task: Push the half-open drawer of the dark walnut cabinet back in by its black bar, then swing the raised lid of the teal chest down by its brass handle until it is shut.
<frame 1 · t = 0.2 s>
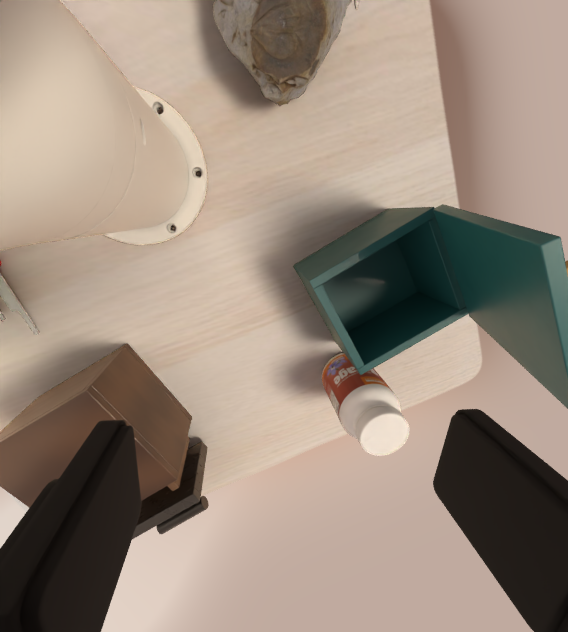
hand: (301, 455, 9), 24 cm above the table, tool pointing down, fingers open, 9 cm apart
stone: (277, 33, 25), on the table
pill bottle: (343, 372, 37), on the table
chest lid: (529, 278, 19), point 15 cm above the table, hinge at 75.0°
chest: (360, 279, 33), on the table
cabinet: (119, 407, 34), on the table
rack drawer: (146, 476, 32), point 5 cm above the table, slide at 3.0 cm
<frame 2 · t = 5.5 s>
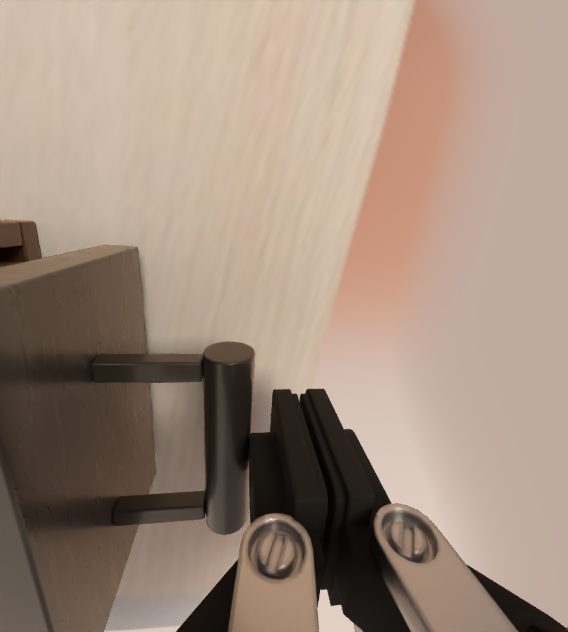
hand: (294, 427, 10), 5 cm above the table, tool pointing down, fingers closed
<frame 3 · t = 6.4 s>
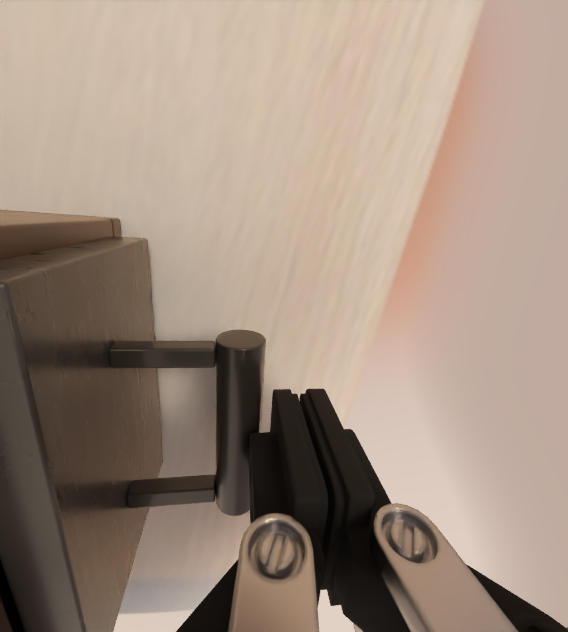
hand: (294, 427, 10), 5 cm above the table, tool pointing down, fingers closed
rack drawer: (10, 424, 9), point 5 cm above the table, slide at 0.0 cm, touching cabinet, gripper
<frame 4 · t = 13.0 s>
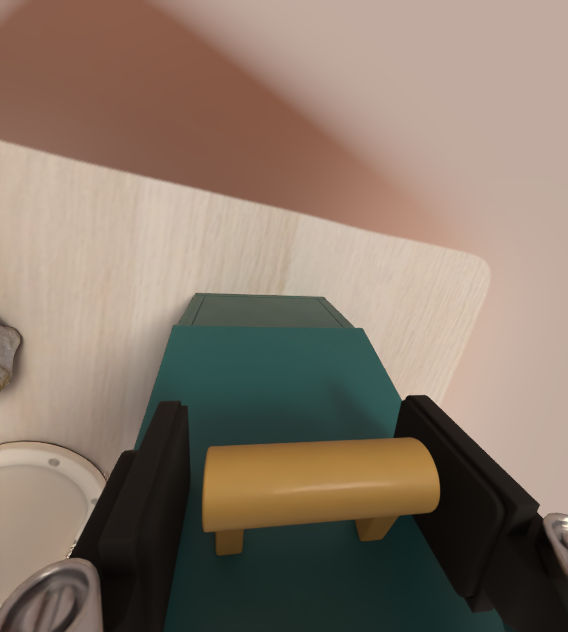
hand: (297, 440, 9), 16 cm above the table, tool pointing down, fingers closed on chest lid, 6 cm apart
chest lid: (290, 395, 11), point 15 cm above the table, hinge at 73.8°, touching gripper
chest: (259, 358, 26), on the table
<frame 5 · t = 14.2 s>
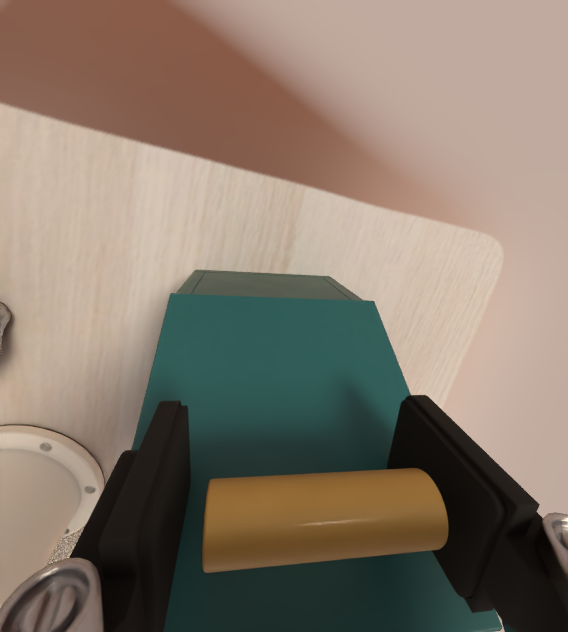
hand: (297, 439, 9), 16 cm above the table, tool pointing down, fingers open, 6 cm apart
chest lid: (294, 392, 10), point 15 cm above the table, hinge at 60.4°, touching gripper
chest: (261, 340, 25), on the table
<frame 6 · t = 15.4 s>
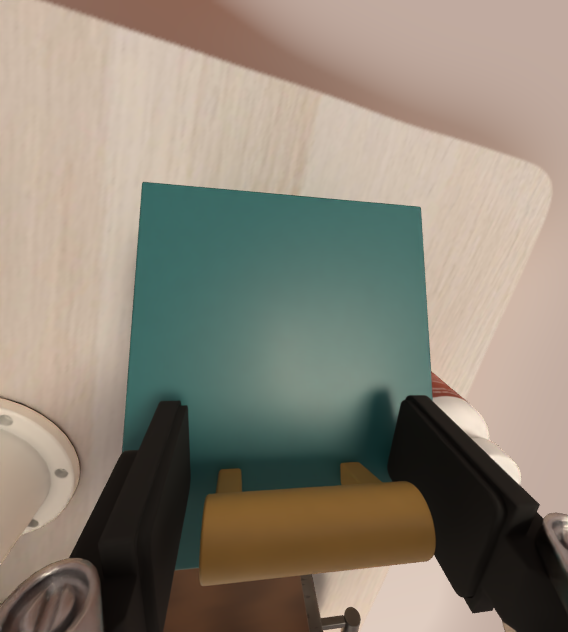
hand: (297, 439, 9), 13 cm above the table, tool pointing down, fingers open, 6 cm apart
pill bottle: (376, 374, 25), on the table
chest lid: (301, 362, 9), point 13 cm above the table, hinge at 26.2°
cabinet: (234, 586, 30), on the table
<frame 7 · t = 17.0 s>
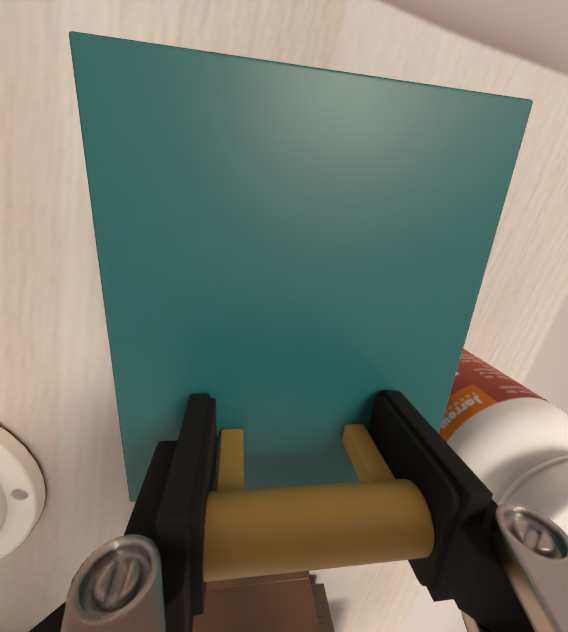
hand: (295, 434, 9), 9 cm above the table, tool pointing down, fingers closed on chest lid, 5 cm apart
pill bottle: (409, 370, 20), on the table
chest lid: (316, 351, 7), point 10 cm above the table, hinge at -0.3°, touching chest, gripper
cabinet: (237, 619, 26), on the table
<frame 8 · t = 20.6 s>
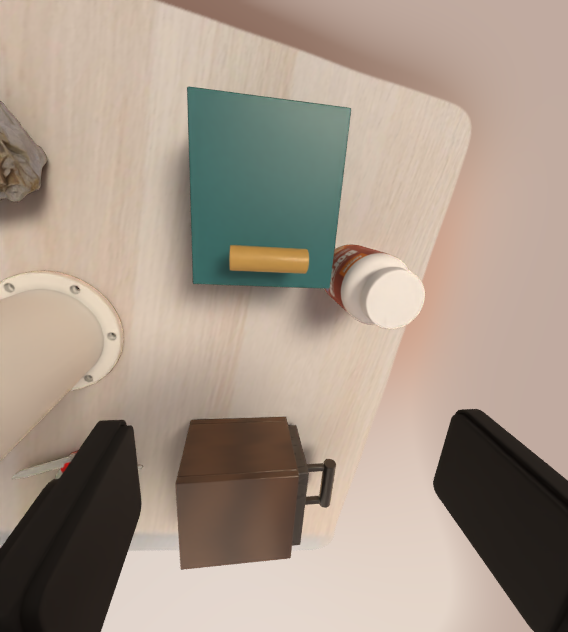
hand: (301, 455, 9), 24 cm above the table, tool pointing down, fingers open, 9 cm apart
pill bottle: (345, 272, 33), on the table
swiss army knife: (97, 483, 37), on the table, touching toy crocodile
chest lid: (269, 199, 20), point 10 cm above the table, hinge at -0.3°, touching chest
cabinet: (238, 455, 38), on the table
rack drawer: (271, 483, 35), point 5 cm above the table, slide at 0.0 cm, touching cabinet
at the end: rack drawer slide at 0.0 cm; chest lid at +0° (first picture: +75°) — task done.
